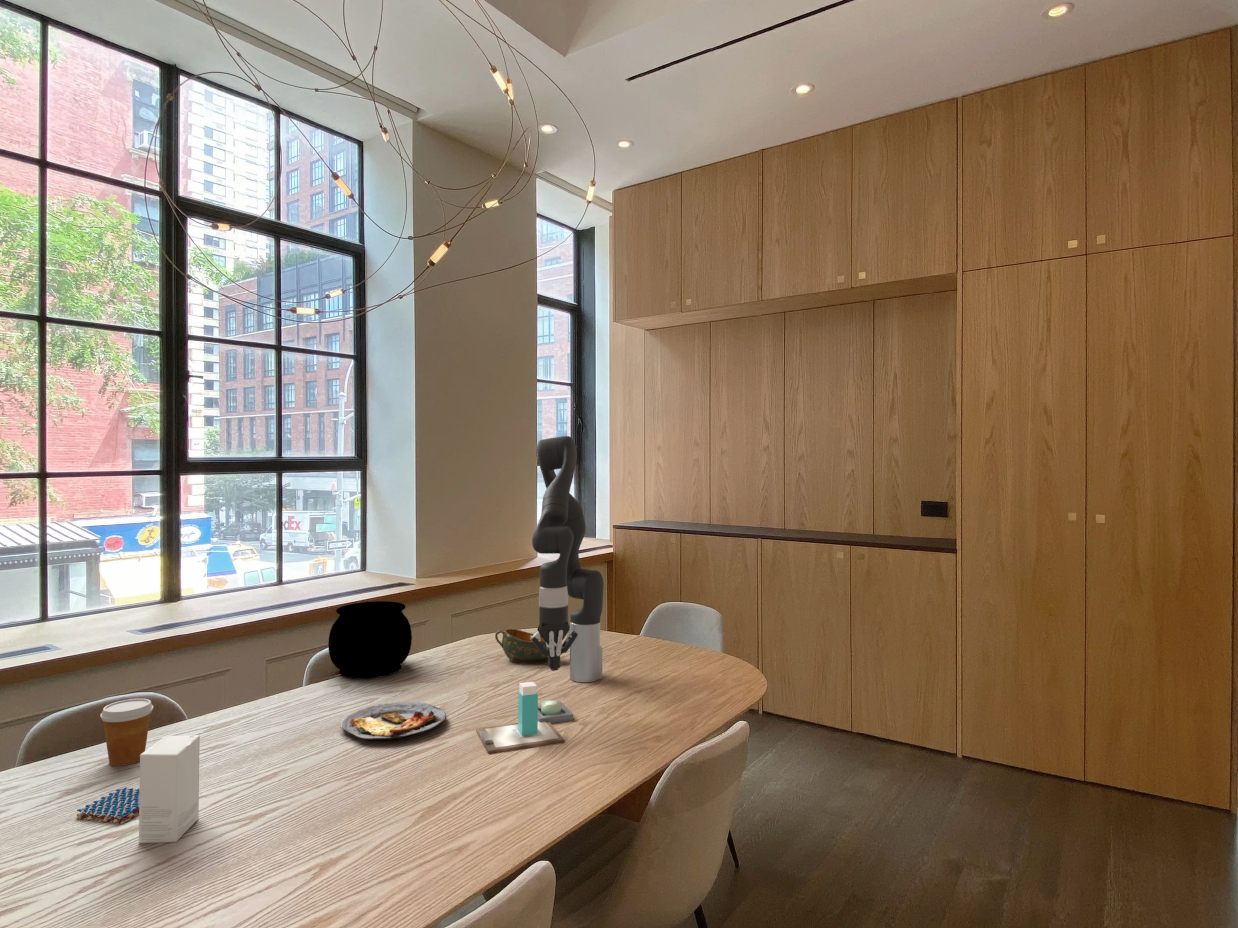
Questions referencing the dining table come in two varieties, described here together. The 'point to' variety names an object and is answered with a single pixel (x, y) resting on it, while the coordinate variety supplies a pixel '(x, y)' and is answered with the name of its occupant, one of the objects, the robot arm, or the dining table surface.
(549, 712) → the button
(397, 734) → the food plate
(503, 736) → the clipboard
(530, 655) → the creamer
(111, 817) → the woven mat
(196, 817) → the skincare box
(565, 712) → the button housing
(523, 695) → the teal marker
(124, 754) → the disposable coffee cup
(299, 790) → the dining table surface
